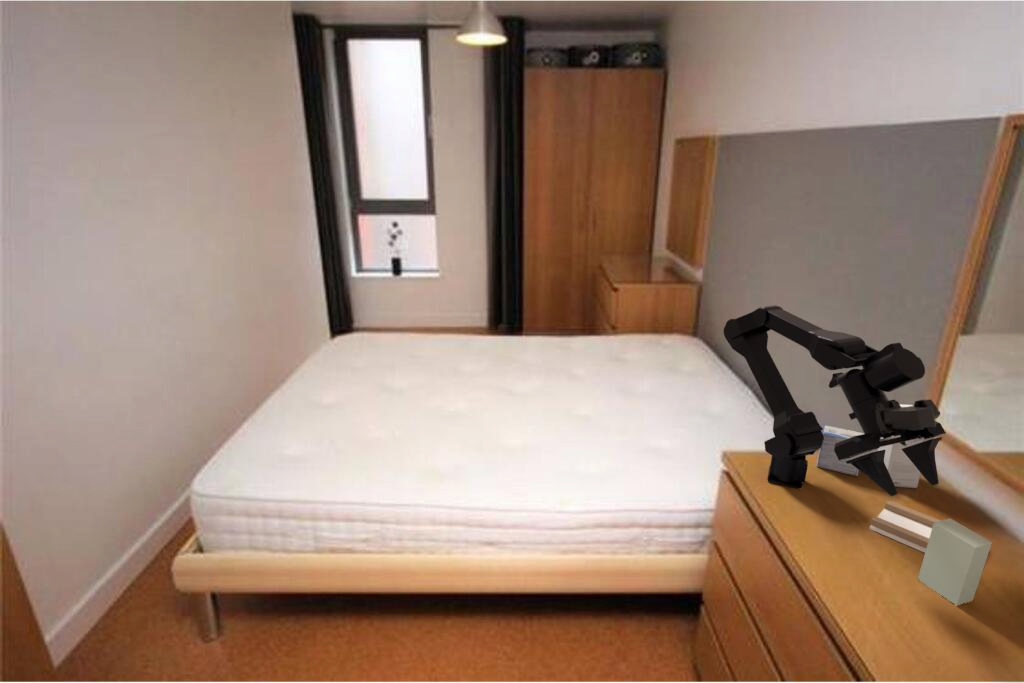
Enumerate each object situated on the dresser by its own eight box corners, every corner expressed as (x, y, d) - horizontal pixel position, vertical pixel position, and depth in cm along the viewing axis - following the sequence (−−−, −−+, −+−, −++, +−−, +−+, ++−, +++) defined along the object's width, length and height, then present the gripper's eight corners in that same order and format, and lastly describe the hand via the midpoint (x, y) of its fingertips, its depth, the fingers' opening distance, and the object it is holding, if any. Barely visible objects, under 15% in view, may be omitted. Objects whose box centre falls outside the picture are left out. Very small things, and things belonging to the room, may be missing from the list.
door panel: (917, 579, 87) (933, 522, 84) (933, 574, 88) (949, 518, 85) (956, 606, 82) (975, 547, 78) (972, 601, 83) (992, 542, 79)
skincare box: (917, 489, 111) (935, 422, 106) (881, 486, 112) (898, 419, 107) (898, 467, 118) (914, 403, 113) (865, 465, 120) (879, 401, 115)
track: (869, 528, 99) (871, 520, 99) (887, 506, 105) (889, 499, 105) (964, 569, 89) (967, 561, 89) (978, 542, 95) (980, 534, 95)
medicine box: (857, 468, 119) (865, 433, 116) (857, 477, 115) (865, 441, 112) (817, 458, 123) (824, 424, 120) (815, 467, 119) (822, 432, 116)
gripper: (863, 392, 85) (915, 490, 78) (948, 377, 90) (1003, 468, 84) (814, 415, 94) (857, 504, 88) (893, 400, 100) (939, 483, 93)
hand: (915, 490), depth 88 cm, fingers open, 9 cm apart
